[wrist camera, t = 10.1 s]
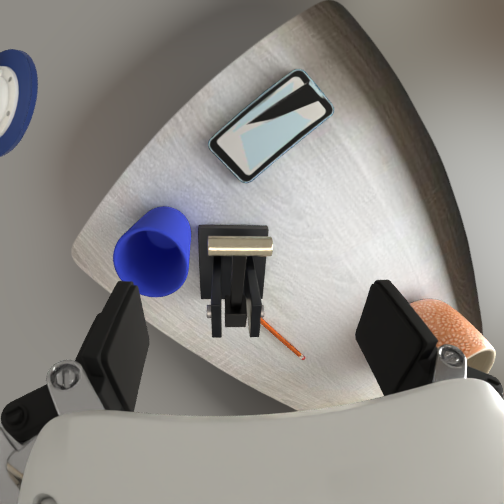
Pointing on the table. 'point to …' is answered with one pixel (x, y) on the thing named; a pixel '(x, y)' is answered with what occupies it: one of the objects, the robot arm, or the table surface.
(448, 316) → the planter
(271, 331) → the pencil
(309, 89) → the smartphone
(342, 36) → the table surface
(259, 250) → the lever
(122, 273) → the mug
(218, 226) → the bracket
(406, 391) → the robot arm
